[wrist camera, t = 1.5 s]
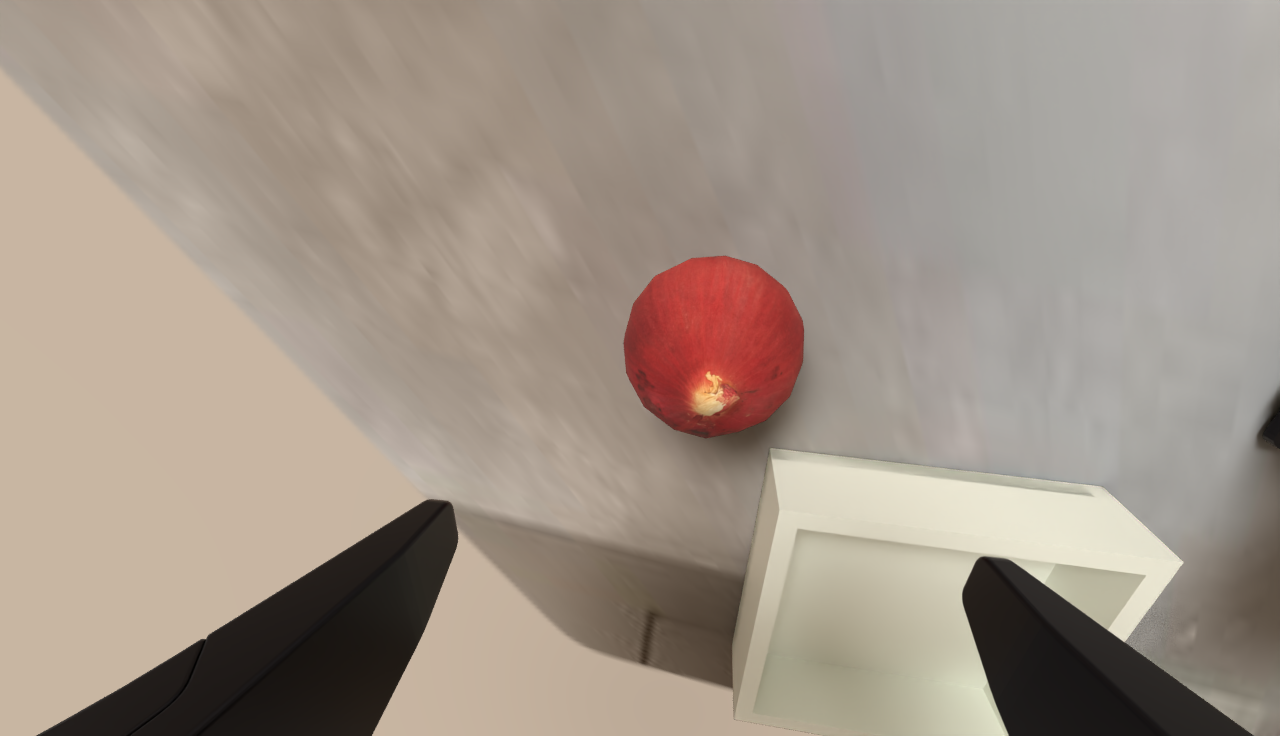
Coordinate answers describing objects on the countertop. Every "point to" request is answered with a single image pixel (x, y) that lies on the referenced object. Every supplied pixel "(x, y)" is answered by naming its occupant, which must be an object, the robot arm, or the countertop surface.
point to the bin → (912, 588)
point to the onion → (713, 346)
